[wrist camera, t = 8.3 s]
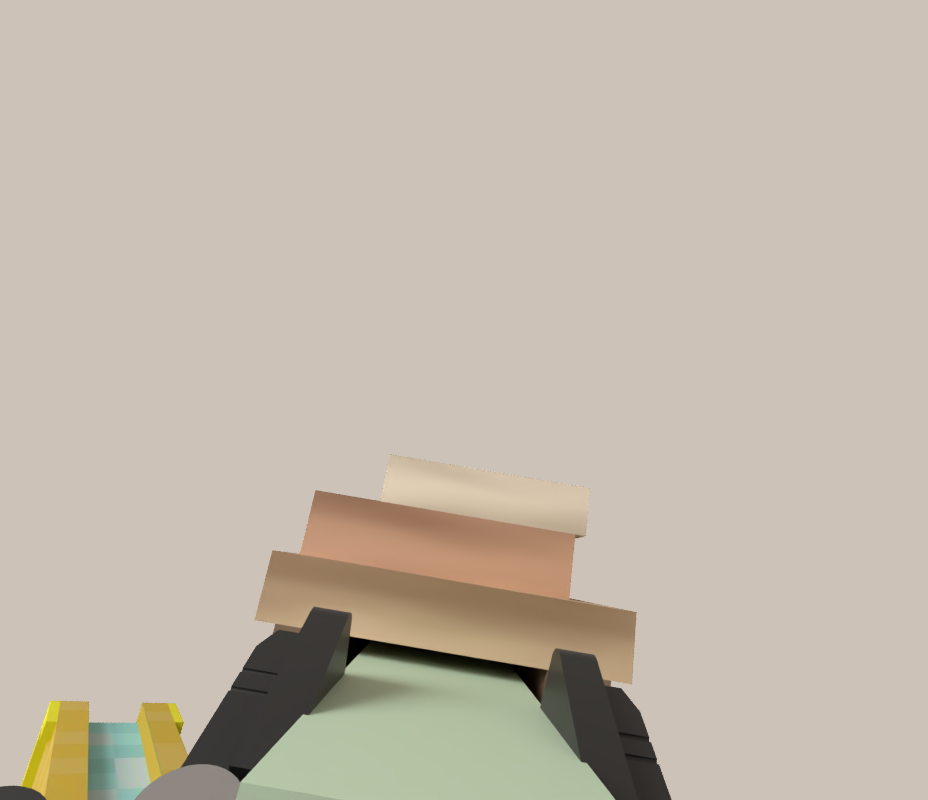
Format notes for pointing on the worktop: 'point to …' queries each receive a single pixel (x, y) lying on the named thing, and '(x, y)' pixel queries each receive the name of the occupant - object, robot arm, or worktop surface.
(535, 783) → the block
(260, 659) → the robot arm
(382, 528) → the tall brown wooden column
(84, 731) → the book
